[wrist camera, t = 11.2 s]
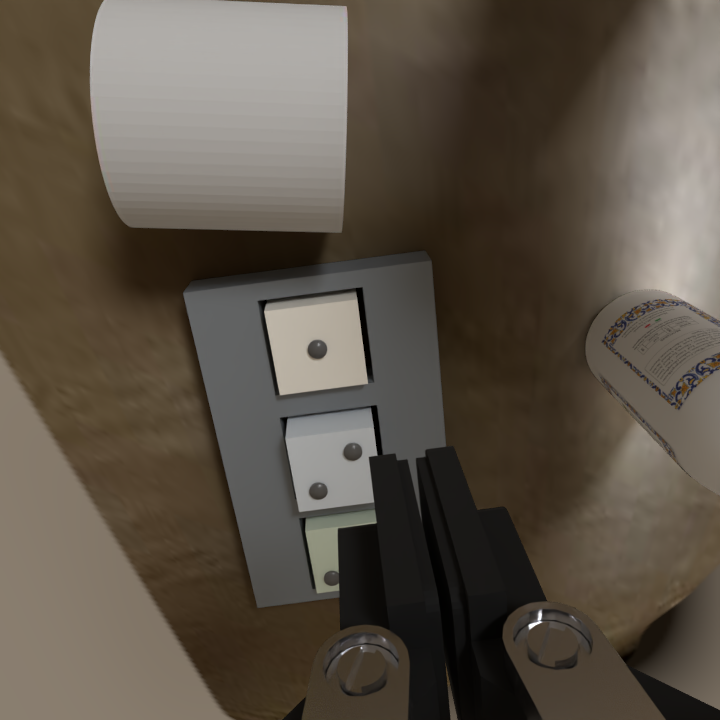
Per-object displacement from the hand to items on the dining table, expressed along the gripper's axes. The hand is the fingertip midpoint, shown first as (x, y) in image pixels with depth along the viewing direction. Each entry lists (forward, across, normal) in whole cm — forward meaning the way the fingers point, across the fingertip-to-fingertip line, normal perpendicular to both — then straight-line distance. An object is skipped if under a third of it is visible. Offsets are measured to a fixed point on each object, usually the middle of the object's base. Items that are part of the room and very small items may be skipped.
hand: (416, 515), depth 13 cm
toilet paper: (+27, +5, -7) cm, 29 cm away
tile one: (+27, +3, +5) cm, 27 cm away
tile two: (+26, +3, +13) cm, 29 cm away
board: (+27, +3, +13) cm, 30 cm away
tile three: (+27, +3, +20) cm, 34 cm away
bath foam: (+27, -17, +9) cm, 33 cm away
